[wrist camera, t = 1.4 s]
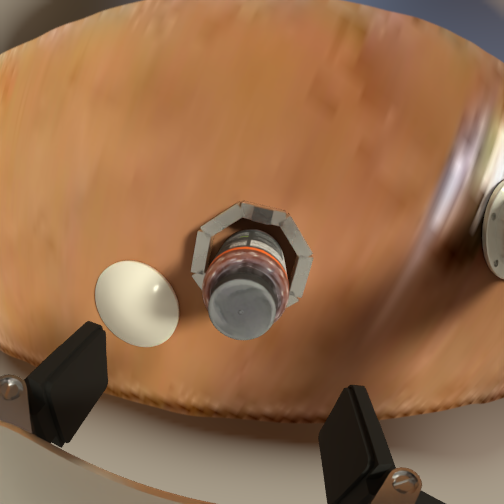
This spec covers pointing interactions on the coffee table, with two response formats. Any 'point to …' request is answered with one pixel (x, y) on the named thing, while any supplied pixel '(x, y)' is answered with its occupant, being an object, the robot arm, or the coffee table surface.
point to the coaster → (137, 303)
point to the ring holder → (262, 216)
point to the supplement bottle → (246, 285)
